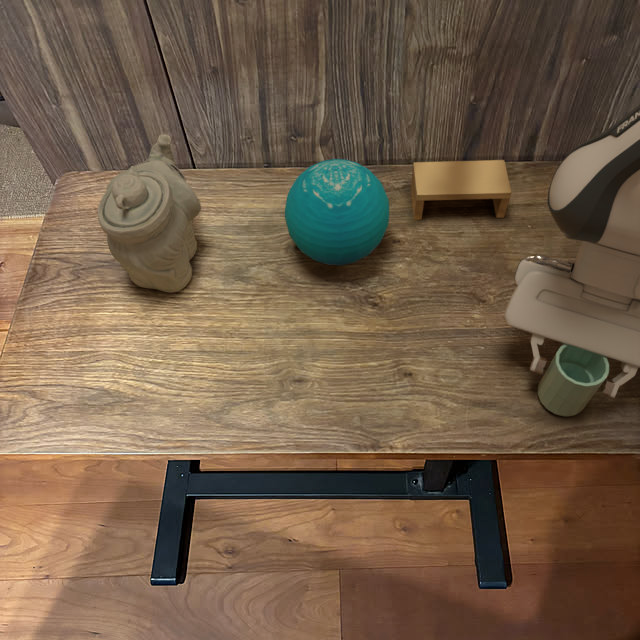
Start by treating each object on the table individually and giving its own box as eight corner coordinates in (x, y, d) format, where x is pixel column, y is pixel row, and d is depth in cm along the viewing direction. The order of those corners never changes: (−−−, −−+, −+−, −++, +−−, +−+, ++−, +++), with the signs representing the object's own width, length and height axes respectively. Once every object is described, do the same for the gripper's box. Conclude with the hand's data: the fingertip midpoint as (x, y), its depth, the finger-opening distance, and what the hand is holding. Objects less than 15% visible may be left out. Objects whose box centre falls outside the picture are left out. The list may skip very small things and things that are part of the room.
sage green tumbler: (585, 381, 82) (609, 346, 74) (583, 423, 78) (608, 390, 71) (538, 371, 83) (557, 336, 75) (534, 412, 79) (554, 379, 72)
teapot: (181, 201, 102) (151, 105, 86) (241, 250, 96) (220, 157, 80) (97, 258, 96) (47, 166, 80) (154, 315, 90) (113, 227, 74)
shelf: (497, 185, 101) (504, 159, 97) (503, 217, 97) (511, 192, 93) (410, 187, 102) (413, 162, 97) (413, 220, 98) (416, 195, 93)
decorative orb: (380, 206, 100) (385, 131, 87) (393, 281, 92) (400, 211, 79) (286, 214, 100) (277, 140, 87) (291, 290, 91) (282, 220, 79)
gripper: (523, 250, 72) (485, 360, 76) (712, 305, 67) (663, 420, 71) (523, 247, 78) (488, 349, 82) (697, 297, 73) (652, 403, 77)
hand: (570, 383), depth 76 cm, fingers open, 7 cm apart
